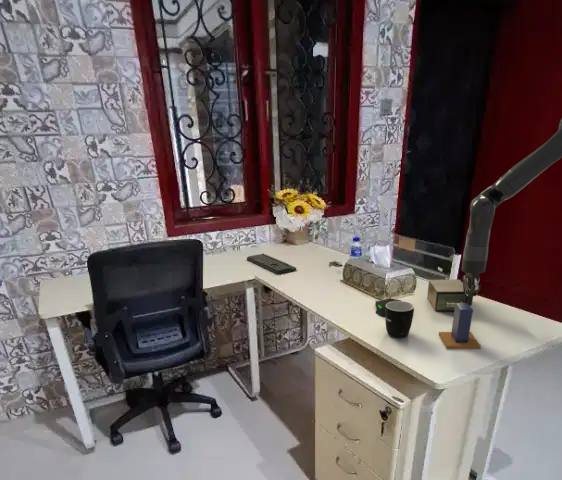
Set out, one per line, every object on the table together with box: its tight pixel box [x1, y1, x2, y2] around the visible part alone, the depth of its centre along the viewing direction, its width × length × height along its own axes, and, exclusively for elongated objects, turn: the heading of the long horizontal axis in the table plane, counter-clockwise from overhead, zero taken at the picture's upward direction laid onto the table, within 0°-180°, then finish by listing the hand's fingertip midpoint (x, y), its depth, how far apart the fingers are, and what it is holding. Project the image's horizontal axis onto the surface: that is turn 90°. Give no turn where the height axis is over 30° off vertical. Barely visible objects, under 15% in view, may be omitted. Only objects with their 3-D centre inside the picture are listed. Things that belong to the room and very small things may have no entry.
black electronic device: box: [374, 297, 402, 318], centre depth 156 cm, size 11×16×4 cm
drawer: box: [437, 293, 465, 310], centre depth 154 cm, size 17×10×6 cm, turn 174°
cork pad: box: [438, 331, 481, 350], centre depth 131 cm, size 10×10×1 cm
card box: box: [450, 303, 474, 343], centre depth 129 cm, size 4×6×11 cm, turn 174°
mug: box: [384, 300, 415, 339], centre depth 135 cm, size 12×9×10 cm
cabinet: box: [426, 279, 465, 312], centre depth 158 cm, size 14×12×8 cm
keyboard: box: [246, 253, 297, 275], centre depth 220 cm, size 35×11×2 cm, turn 30°
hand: (467, 305), depth 148 cm, fingers closed
